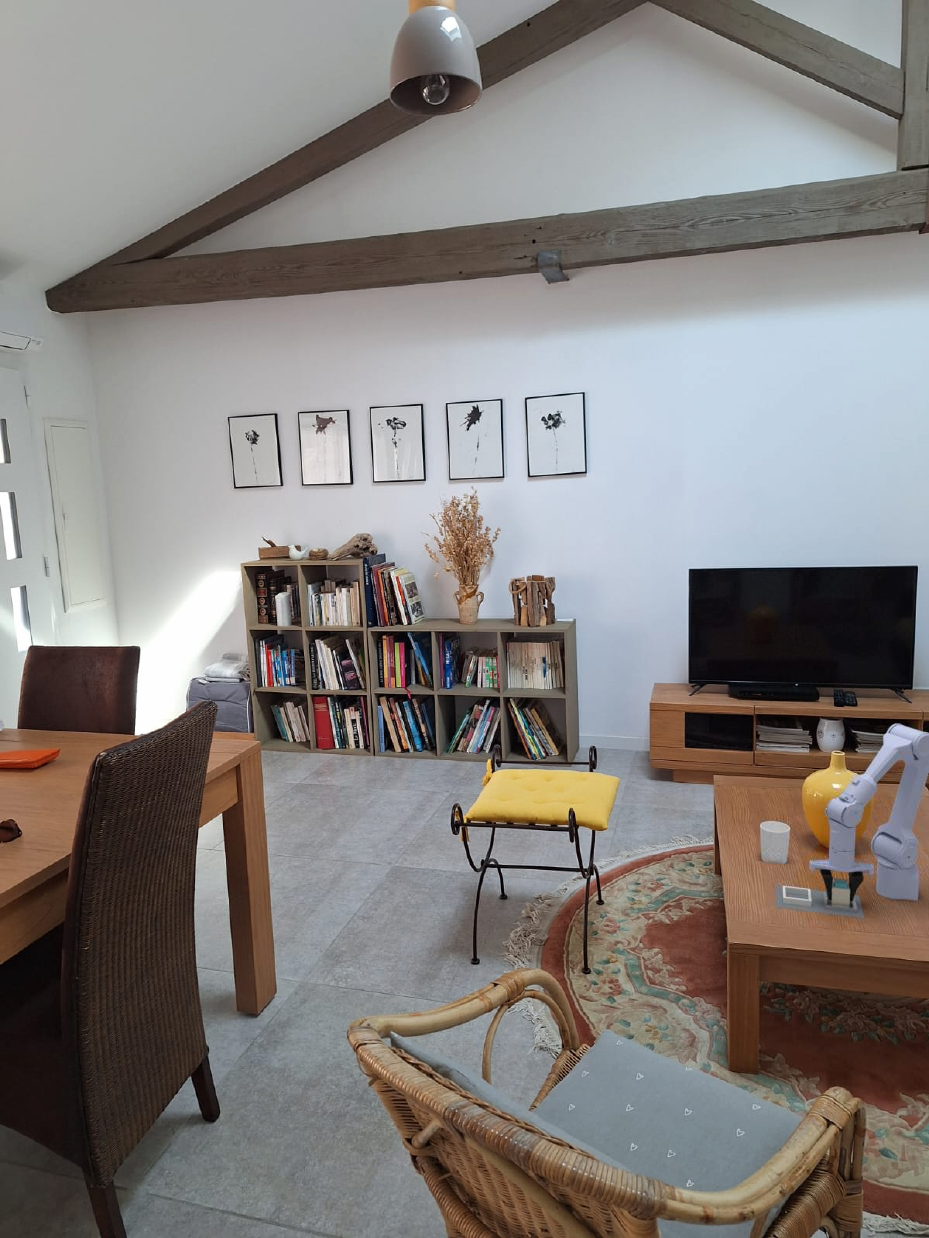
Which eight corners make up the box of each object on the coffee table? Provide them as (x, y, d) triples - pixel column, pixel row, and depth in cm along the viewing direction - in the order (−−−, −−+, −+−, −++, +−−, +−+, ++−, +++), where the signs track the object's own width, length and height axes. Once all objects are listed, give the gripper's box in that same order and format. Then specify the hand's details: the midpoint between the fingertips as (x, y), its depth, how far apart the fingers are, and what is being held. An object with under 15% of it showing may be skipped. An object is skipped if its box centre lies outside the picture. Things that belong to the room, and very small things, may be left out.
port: (810, 894, 215) (810, 888, 215) (811, 906, 209) (811, 900, 209) (782, 891, 217) (782, 885, 217) (783, 903, 211) (783, 897, 211)
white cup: (787, 855, 240) (788, 822, 239) (790, 867, 233) (791, 833, 231) (758, 853, 242) (759, 820, 241) (760, 864, 235) (761, 830, 233)
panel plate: (858, 899, 214) (859, 895, 214) (864, 922, 203) (864, 918, 203) (775, 889, 221) (775, 885, 221) (775, 911, 210) (776, 907, 209)
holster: (854, 899, 212) (854, 895, 212) (857, 912, 206) (857, 908, 205) (823, 895, 215) (823, 891, 214) (825, 908, 208) (825, 905, 208)
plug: (847, 901, 211) (848, 878, 210) (849, 908, 208) (850, 885, 207) (830, 899, 213) (831, 876, 212) (831, 906, 209) (832, 883, 208)
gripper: (869, 841, 210) (867, 892, 212) (807, 838, 213) (805, 889, 215) (877, 853, 203) (874, 906, 205) (813, 850, 206) (811, 902, 208)
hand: (839, 898), depth 210 cm, fingers closed on plug, 4 cm apart
